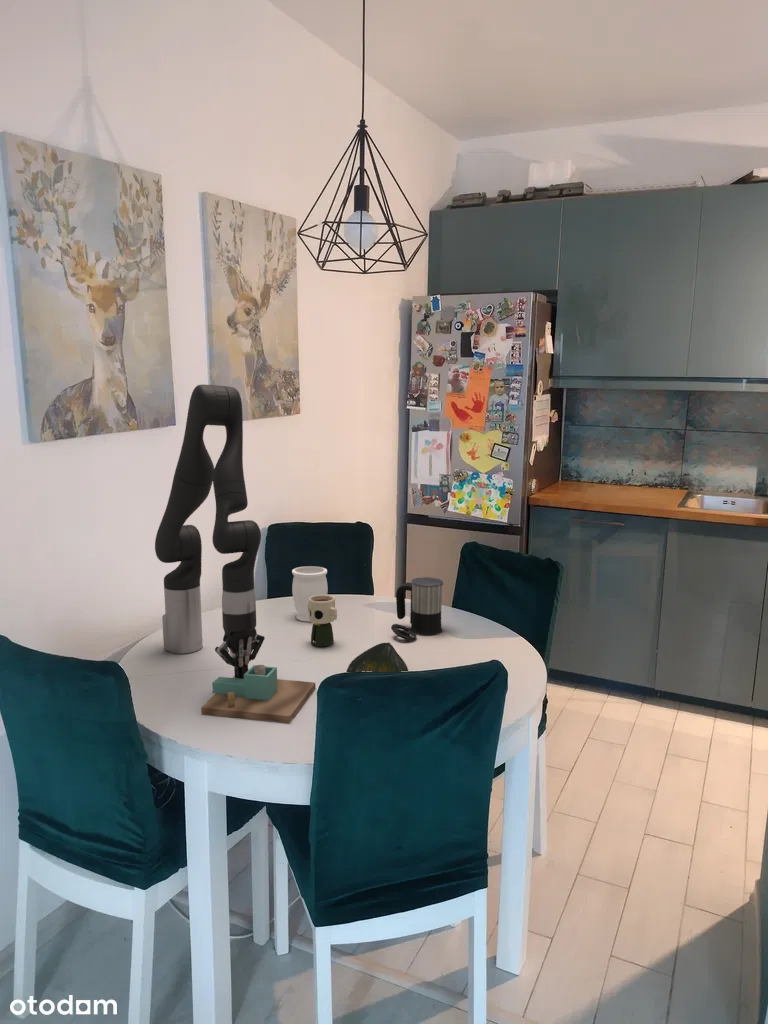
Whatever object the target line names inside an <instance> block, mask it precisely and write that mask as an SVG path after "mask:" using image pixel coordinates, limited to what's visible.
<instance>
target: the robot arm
mask: <svg viewBox="0 0 768 1024" xmlns="http://www.w3.org/2000/svg"><path fill="white" fill-rule="evenodd" d="M243 417H244V416H243V402H242V397H241V394H240V391H239V390H237V388H235V387H233V386H228V385H218V384H217V385H216V384H197V385H196V386H195V387H194V389H193V390H192V392H191V395H190V398H189V403H188V409H187V417H186V421H185V428H184V434H183V441H182V445H181V449H180V452H179V456H178V460H177V463H176V467H175V470H174V473H173V474H174V475H173V479H172V484H171V489H170V493H169V497H168V500H167V505H166V507H165V510H164V514H163V516H162V519H161V520H160V523H159V526H158V529H157V532H156V536H155V541H154V552H155V556H156V558H157V559H158V560H159V561H160V562H161V563H164V564H165V563H166V564H171V563H179V562H180V563H179V564H178V566H177V567H176V568H175V569H173V570H172V571H169V572H167V574H166V575H165V576H164V578H163V592H164V593H163V594H164V596H163V597H164V609H165V610H164V612H165V613H164V614H162V618H161V619H162V639H163V641H162V642H163V651H167V652H170V653H172V654H183V655H184V654H191V653H194V652H197V651H199V650H201V649H202V648H203V645H204V644H203V621H202V599H201V598H202V597H201V596H202V595H201V577H202V556H203V555H202V554H203V551H202V549H203V547H202V546H203V545H202V544H203V543H202V537H201V533H200V531H199V529H198V527H197V526H196V525H194V524H185V523H186V522H187V520H188V519H189V518H190V517H191V516H192V515H193V514H194V513H195V512H196V510H198V509H199V508H200V506H201V505H202V504H203V503H204V502H205V501H206V500H207V499H208V496H209V495H210V492H211V488H212V485H213V492H214V499H215V517H214V519H215V520H214V527H213V530H212V531H213V532H212V544H213V547H214V549H215V550H216V552H218V553H219V554H221V555H223V554H224V555H225V554H227V555H228V554H237V553H242V554H241V555H240V557H239V558H238V559H235V560H233V561H230V562H227V563H225V564H224V565H223V566H222V569H221V576H222V577H221V578H222V580H221V581H222V582H221V583H222V585H221V586H222V593H221V594H222V595H221V610H222V613H221V614H222V628H223V631H224V634H223V637H222V641H223V642H222V643H221V644H220V646H216V647H215V648H214V650H215V653H216V654H217V655H218V656H219V657H220V658H221V659H222V660H223V661H224V662H225V663H226V664H227V665H229V666H232V667H233V668H234V669H233V670H234V673H233V674H234V676H235V678H239V679H244V674H245V673H246V672H247V671H248V670H249V664H250V662H251V661H254V660H255V659H256V657H257V655H258V653H259V651H260V649H261V647H262V646H263V643H264V641H265V639H266V638H265V636H264V635H261V634H258V633H257V631H258V630H257V629H256V628H257V602H256V601H257V600H256V599H257V598H256V592H255V567H256V560H257V555H258V552H259V550H260V549H259V548H260V545H261V539H262V532H261V528H260V526H259V524H258V523H257V522H256V521H254V520H250V519H248V520H247V519H246V520H237V521H236V520H235V521H229V516H230V515H232V514H233V515H234V514H236V513H239V512H242V511H244V510H246V509H247V507H248V504H249V503H248V495H247V488H246V482H245V475H244V474H245V473H244V463H243V459H244V458H243V455H244V453H243V449H244V447H243V445H244V441H243V440H244V431H243V430H244V429H243V427H244V426H243V423H244V422H243V420H244V419H243ZM207 426H216V427H220V426H222V427H225V432H226V433H225V434H226V437H225V438H226V439H225V444H224V447H223V449H222V451H221V454H220V455H219V457H218V459H217V462H216V464H215V466H214V463H213V460H212V458H211V456H210V453H209V451H208V449H207V448H206V444H205V442H204V431H205V429H206V427H207Z"/></svg>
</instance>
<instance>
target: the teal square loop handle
mask: <svg viewBox="0 0 768 1024" xmlns="http://www.w3.org/2000/svg"><path fill="white" fill-rule="evenodd" d="M255 666H256V665H252V666H251V667H250V668H248V671H247V672H246V673H245V674H244V679H239V678H232V677H226V676H218V677H217V678H216V679H214V680H213V682H211V683H212V684H211V685H212V694H214V695H215V694H226V695H228V692H234V694H235V695H237V696H244V697H245V698H246V699H257V700H267V701H269V700H270V698H271V697H272V696H273V695H274V694H275V693H276V691H277V679H278V667H277V666H267V665H264V666H265V674H266V676H265V675H255V673H254V667H255Z"/></svg>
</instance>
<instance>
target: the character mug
mask: <svg viewBox="0 0 768 1024" xmlns="http://www.w3.org/2000/svg"><path fill="white" fill-rule="evenodd" d="M308 612H309V620H310V621H311V622H310V623H312V628H311V634H310V635H311V636H310V643H311V645H314V646H318V647H324V646H329V645H330V644H332V643H334V631H333V625H332V622H335V621H336V620H337V617H338V610H337V608H336V598H335V596H334V595H330V594H327V595H314V596H311V597H310V598H309V601H308ZM314 642H315V644H314Z"/></svg>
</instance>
